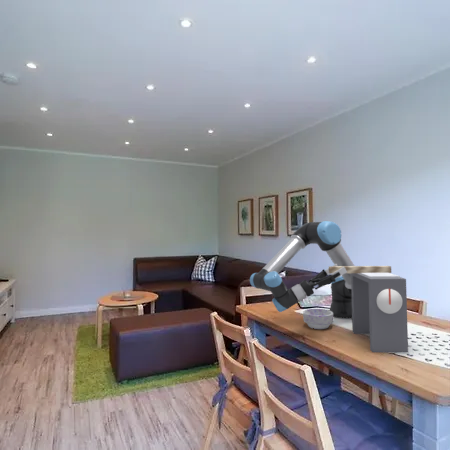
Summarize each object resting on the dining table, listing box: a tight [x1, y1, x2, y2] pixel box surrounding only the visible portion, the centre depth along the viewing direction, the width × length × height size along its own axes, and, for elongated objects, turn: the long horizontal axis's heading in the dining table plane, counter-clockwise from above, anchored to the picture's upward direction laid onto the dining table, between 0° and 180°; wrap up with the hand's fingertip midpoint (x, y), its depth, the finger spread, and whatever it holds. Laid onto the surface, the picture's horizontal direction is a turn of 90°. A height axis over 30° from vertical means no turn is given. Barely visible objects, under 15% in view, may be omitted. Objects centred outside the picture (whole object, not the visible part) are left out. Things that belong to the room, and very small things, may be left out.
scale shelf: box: [351, 272, 409, 353], centre depth 151 cm, size 14×29×31 cm, turn 175°
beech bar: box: [328, 265, 392, 274], centre depth 160 cm, size 28×3×3 cm, turn 85°
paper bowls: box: [302, 308, 334, 330], centre depth 176 cm, size 15×15×8 cm
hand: (341, 267), depth 160 cm, fingers open, 13 cm apart
